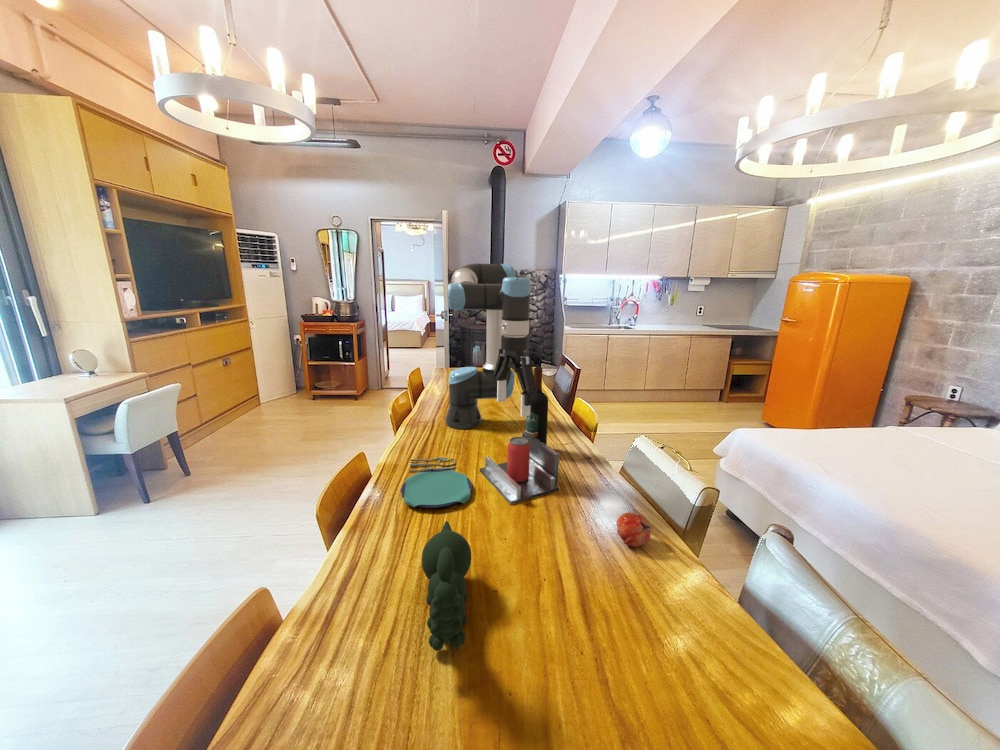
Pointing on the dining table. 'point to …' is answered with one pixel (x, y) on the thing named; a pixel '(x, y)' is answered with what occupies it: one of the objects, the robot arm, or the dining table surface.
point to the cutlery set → (436, 486)
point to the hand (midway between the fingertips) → (512, 408)
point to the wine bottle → (538, 410)
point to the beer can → (518, 459)
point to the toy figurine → (446, 586)
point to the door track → (540, 474)
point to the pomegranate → (633, 529)
